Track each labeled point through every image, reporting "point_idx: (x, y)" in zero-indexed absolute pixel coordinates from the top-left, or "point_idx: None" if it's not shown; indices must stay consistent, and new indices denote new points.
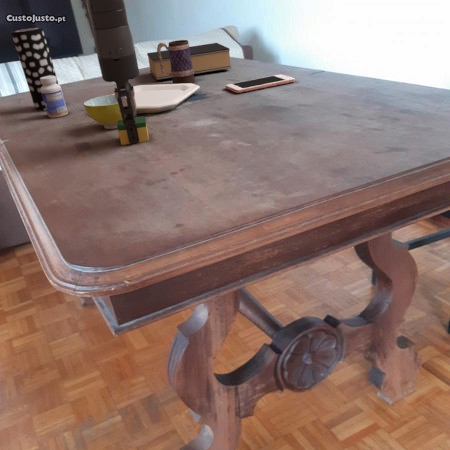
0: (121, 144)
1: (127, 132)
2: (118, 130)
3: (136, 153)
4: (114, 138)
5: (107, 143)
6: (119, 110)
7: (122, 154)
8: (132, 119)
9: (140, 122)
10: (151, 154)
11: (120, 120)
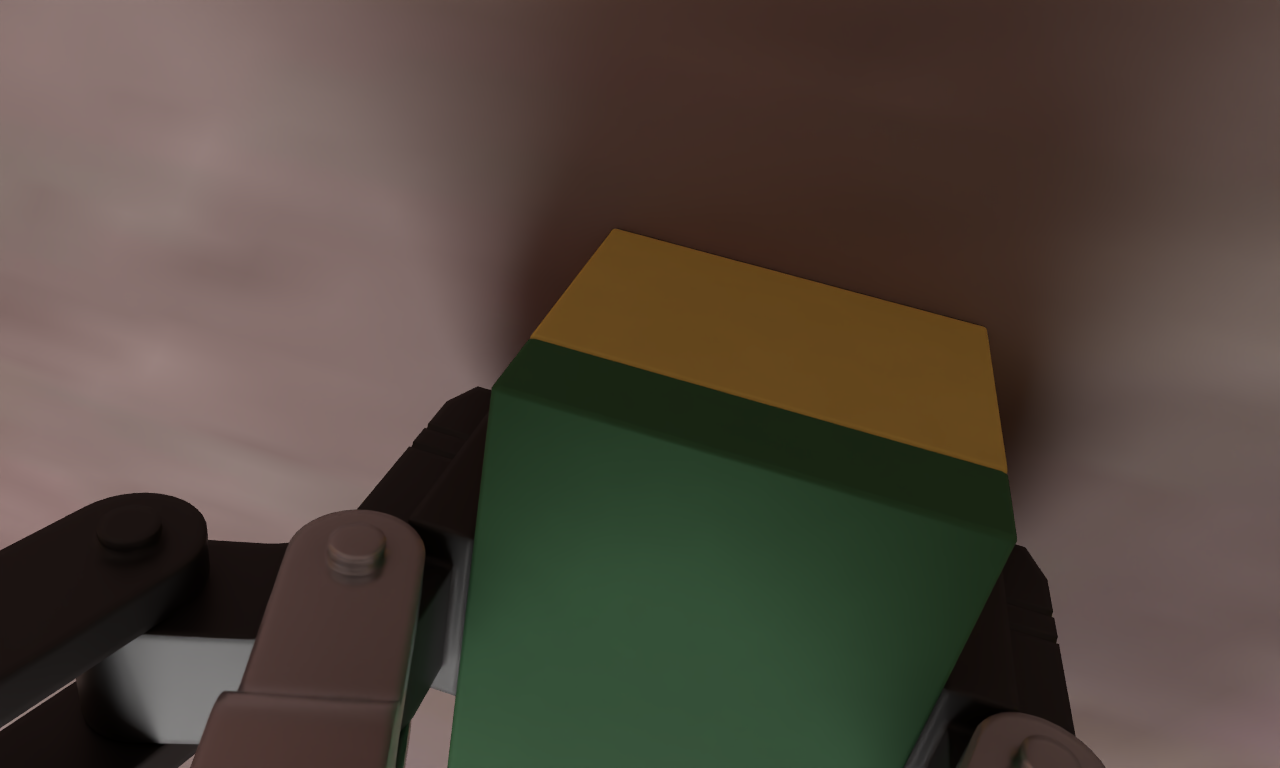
0: (610, 234)
1: (458, 454)
2: (528, 348)
3: (100, 305)
4: (1176, 218)
5: (927, 7)
6: (206, 753)
7: (125, 124)
8: (51, 700)
9: (460, 765)
10: (8, 433)
11: (973, 590)
